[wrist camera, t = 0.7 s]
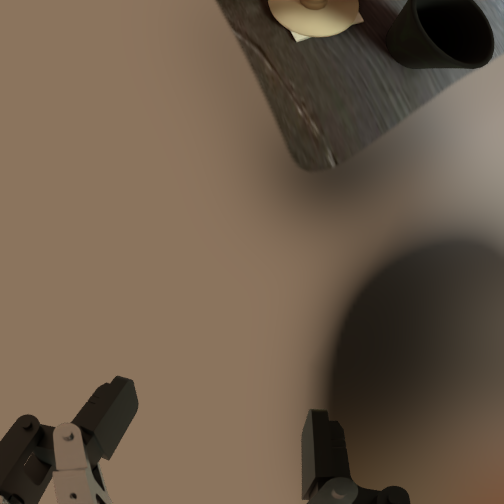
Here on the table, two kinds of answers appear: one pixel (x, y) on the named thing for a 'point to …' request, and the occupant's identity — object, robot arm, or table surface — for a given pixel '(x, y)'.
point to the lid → (315, 16)
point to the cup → (441, 35)
